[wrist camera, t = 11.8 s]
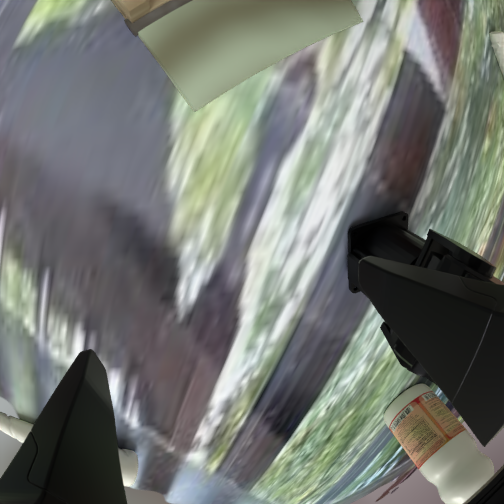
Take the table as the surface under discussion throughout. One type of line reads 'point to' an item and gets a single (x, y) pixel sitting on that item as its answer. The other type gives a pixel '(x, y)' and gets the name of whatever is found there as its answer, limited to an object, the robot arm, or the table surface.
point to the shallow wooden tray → (229, 37)
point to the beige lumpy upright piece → (498, 47)
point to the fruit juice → (438, 444)
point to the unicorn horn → (22, 429)
